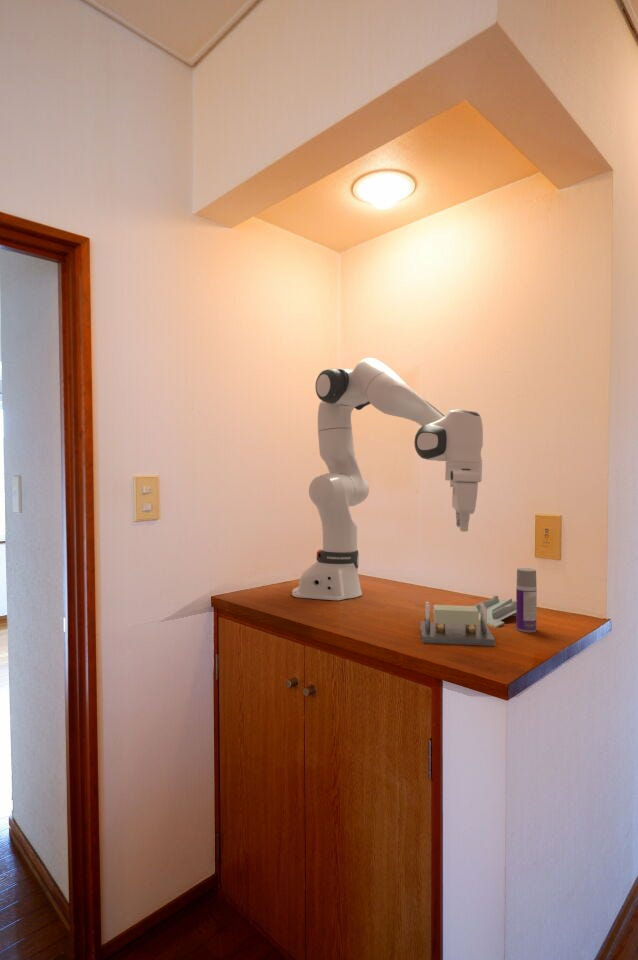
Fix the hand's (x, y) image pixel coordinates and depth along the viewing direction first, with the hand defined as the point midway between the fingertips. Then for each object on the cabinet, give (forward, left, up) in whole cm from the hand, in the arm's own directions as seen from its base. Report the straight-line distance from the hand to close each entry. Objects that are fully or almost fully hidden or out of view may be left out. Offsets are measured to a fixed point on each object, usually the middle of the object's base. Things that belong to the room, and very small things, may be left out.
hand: (461, 529), depth 135 cm
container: (+16, 0, -25) cm, 30 cm away
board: (-2, -7, -21) cm, 23 cm away
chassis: (-2, -8, -25) cm, 26 cm away
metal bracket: (+10, +11, -26) cm, 30 cm away
